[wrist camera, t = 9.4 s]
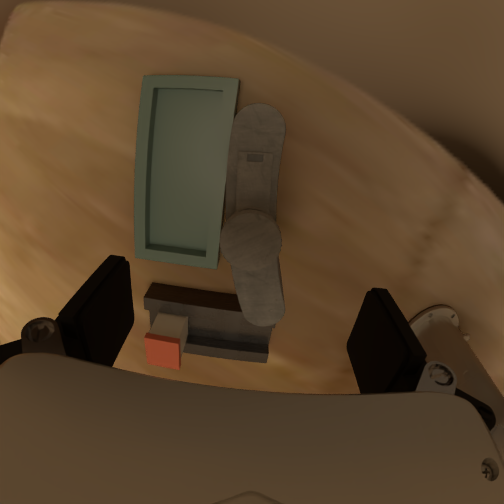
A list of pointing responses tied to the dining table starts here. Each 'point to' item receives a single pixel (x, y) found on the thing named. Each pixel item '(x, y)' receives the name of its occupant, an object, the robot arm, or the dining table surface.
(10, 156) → the dining table surface
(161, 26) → the dining table surface
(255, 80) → the dining table surface
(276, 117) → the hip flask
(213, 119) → the tray
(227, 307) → the switch panel
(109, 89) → the dining table surface
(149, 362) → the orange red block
